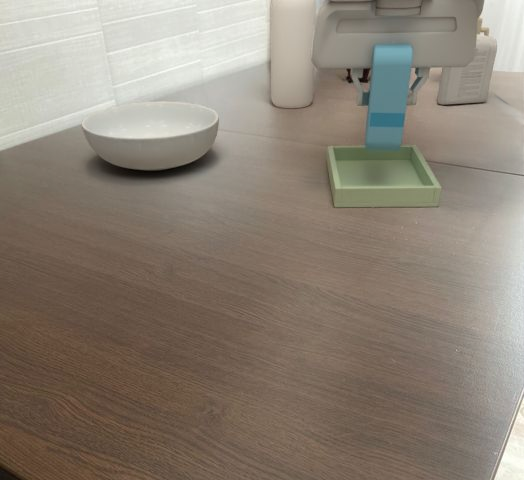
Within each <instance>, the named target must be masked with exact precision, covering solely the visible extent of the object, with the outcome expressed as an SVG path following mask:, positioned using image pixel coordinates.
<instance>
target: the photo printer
mask: <svg viewBox="0 0 524 480" xmlns="http://www.w3.org/2000/svg"><path fill="white" fill-rule="evenodd" d="M497 51H498V41H497V38H494V37H491V36H490V35H488V36H485V35H484V34H481V33H480V34H477V39H476V48H475V55H474V58H473V60H472V61H471V62H470V63H469V64H468V65H467V66H466V67H441V72H440V77H439V78H440V79H439V84H438V90H437V97H436V98H437V99H436V101H437V103H438V104H439V105H442V106H445V105H446V106H447V105H460V104H463V105H464V104H475V103H485V102H486V100H487V98H488V93H489V90H490V89H489V88H490V85H491V80H492V75H493V70H494V66H495V61H496V56H497Z"/></svg>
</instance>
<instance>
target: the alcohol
mask: <svg viewBox="0 0 524 480" xmlns="http://www.w3.org/2000/svg"><path fill="white" fill-rule="evenodd" d="M269 12H270V13H269V27H270V28H269V29H270V33H269V35H270V100H271V102H272V104H273V105H274V107H276V108H280V109H301V108H307V107H309V106H310V105H311V104H312V102H313V100H314V86H315V85H314V84H315V83H314V81H315V66H314V65H313V63H312V62H311V45H312V36H313V29H314V23H315V18H316V14H317V6H316V0H271V1H270V8H269Z"/></svg>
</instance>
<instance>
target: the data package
mask: <svg viewBox="0 0 524 480" xmlns="http://www.w3.org/2000/svg"><path fill="white" fill-rule="evenodd" d="M412 57H413V49H412V46H411V44H376V45H375V46H374V53H373V64H372V68H371V69H370V77H369V78H370V79H369V88H368V89H369V91H370V95H369V106H367V109H366V110H367V111H366V112H367V113H366V123H365V141H364V146H365V150H373V151H399V150H400V148H401V145H402V143H403V134H404V128H405V120H406V119H405V118H406V111H407V106H408V105H407V97H408V89H409V88H410V82H411V72H412V68H411V66H412Z"/></svg>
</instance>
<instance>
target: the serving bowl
mask: <svg viewBox="0 0 524 480" xmlns="http://www.w3.org/2000/svg"><path fill="white" fill-rule="evenodd" d="M219 124H220V116H219V114H218V112H217V111H216V110H214V109H213V108H212V107H211V108H210V107H208V106H205V105H203V104H198V103H193V102H192V103H191V102H187V101H186V102H185V101H167V100H165V101H164V100H163V101H162V100H159V101H157V100H155V101H140V102H132V103H124V104H119V105H115V106H114V105H113V106H109V107H106V108H102V109H99V110H97V111H94V112H92V113H90V114H89V115H87V116H85V117H84V118H83V119H82V121H81V124H80V125H81V129H82V132H83V134H84V137H85V139H86V141H87V143H88V145H89V146H90V148H91V149H92V150H93V151H94V152H95V154H96V155H98V157H100V158H101V159H103V160H104V161H106V162H108V163H109V164H112V165H114V166H117V167H121V168H125V169H130V170H139V171H144V172H145V171H147V172H157V171H158V172H159V171H165V170H166V171H167V170H170V169H174V168H178V167H181V166H185V165H187V164H190V163H192V162H195V161H197V160H199V159H200V158H202V157H203V156H205V154H207V152H208V151H209V150H210V149H211V148H212V146H213V145H214V143H215V141H216V140H217V139H216V138H217V136H218V133H219V126H220V125H219Z"/></svg>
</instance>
